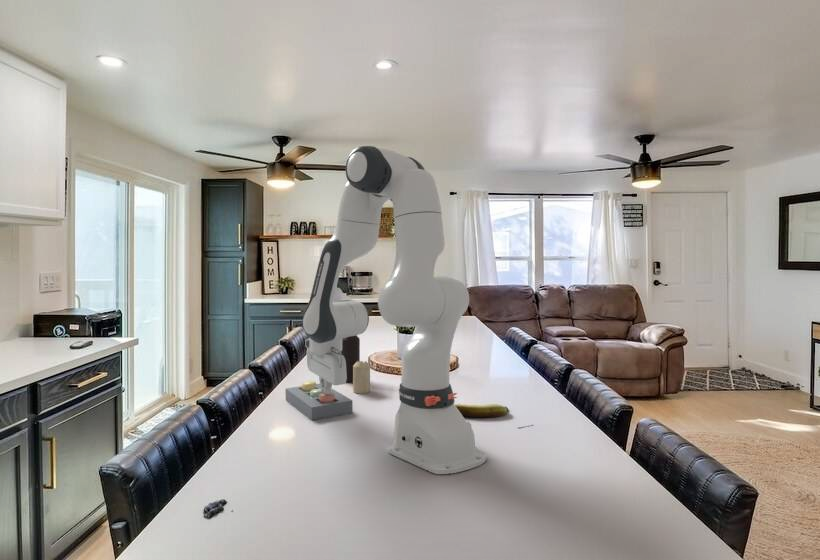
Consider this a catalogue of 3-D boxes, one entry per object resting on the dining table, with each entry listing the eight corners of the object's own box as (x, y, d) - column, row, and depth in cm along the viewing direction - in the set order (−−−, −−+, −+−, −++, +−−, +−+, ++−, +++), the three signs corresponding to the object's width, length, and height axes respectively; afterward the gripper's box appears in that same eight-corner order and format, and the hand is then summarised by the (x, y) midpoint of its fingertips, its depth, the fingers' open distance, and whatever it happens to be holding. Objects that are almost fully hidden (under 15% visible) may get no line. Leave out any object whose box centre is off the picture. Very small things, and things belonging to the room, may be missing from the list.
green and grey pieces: (423, 435, 114) (423, 420, 114) (414, 402, 142) (414, 390, 142) (561, 433, 117) (561, 418, 117) (526, 401, 144) (527, 388, 144)
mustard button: (318, 393, 141) (318, 383, 141) (304, 395, 139) (304, 385, 139) (313, 390, 144) (312, 380, 144) (300, 392, 142) (299, 382, 142)
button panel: (352, 412, 130) (352, 400, 130) (311, 420, 123) (311, 407, 123) (322, 393, 148) (322, 383, 148) (285, 399, 142) (285, 388, 142)
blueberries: (244, 503, 82) (244, 492, 82) (227, 525, 74) (227, 513, 74) (206, 503, 82) (207, 492, 82) (185, 525, 74) (185, 513, 74)
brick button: (336, 405, 129) (336, 394, 129) (322, 407, 127) (322, 397, 127) (330, 401, 133) (330, 391, 133) (317, 403, 130) (316, 393, 130)
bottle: (338, 379, 167) (338, 324, 167) (356, 377, 170) (356, 323, 169) (343, 383, 161) (343, 326, 160) (362, 381, 164) (362, 325, 163)
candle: (371, 389, 154) (371, 359, 154) (368, 394, 148) (368, 363, 148) (355, 388, 154) (355, 359, 154) (351, 393, 149) (351, 362, 149)
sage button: (327, 401, 135) (327, 391, 135) (313, 404, 133) (313, 393, 133) (321, 398, 139) (321, 388, 139) (308, 400, 136) (308, 390, 136)
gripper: (352, 349, 122) (352, 401, 123) (323, 338, 140) (322, 383, 140) (330, 352, 119) (330, 405, 120) (303, 339, 136) (302, 386, 137)
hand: (325, 393), depth 130 cm, fingers closed
